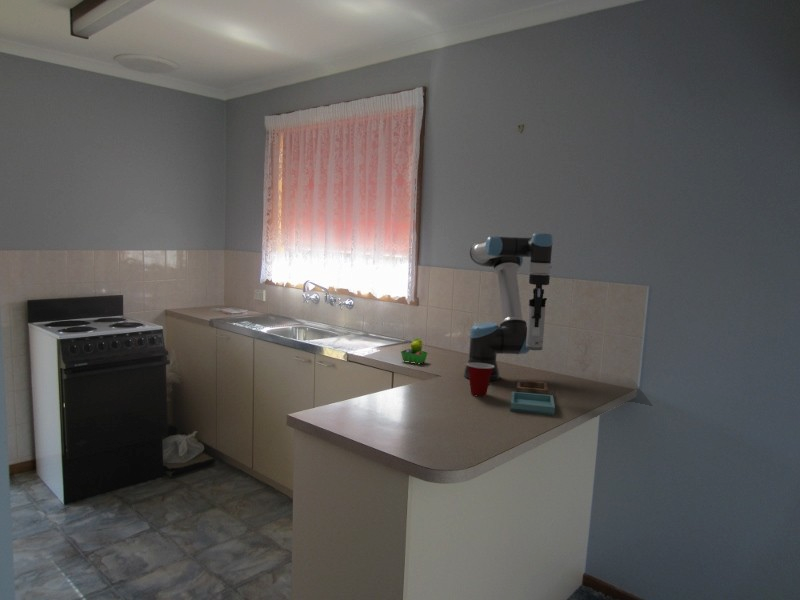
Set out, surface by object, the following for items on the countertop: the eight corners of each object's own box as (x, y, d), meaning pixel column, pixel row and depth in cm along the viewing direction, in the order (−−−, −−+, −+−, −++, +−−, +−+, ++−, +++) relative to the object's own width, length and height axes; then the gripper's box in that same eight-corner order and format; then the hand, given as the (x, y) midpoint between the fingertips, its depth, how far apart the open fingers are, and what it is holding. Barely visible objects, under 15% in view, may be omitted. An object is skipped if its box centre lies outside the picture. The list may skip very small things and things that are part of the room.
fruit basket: (399, 361, 268) (400, 338, 266) (409, 358, 275) (409, 336, 274) (420, 365, 262) (421, 341, 260) (429, 362, 269) (430, 339, 268)
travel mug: (540, 351, 214) (544, 299, 211) (523, 348, 217) (527, 297, 215) (545, 348, 219) (549, 297, 216) (529, 346, 222) (532, 296, 220)
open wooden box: (516, 397, 216) (516, 387, 215) (516, 389, 227) (517, 380, 227) (547, 400, 213) (548, 390, 213) (546, 392, 225) (546, 382, 224)
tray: (510, 411, 199) (510, 402, 199) (511, 399, 214) (511, 391, 213) (554, 415, 196) (554, 407, 195) (552, 403, 210) (552, 395, 210)
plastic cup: (496, 393, 221) (498, 363, 220) (488, 399, 212) (490, 368, 210) (469, 388, 226) (471, 359, 224) (460, 395, 216) (462, 364, 215)
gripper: (550, 276, 204) (546, 339, 207) (548, 272, 223) (544, 330, 226) (529, 275, 206) (525, 337, 209) (529, 271, 225) (525, 329, 228)
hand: (535, 333), depth 217 cm, fingers closed on travel mug, 6 cm apart
